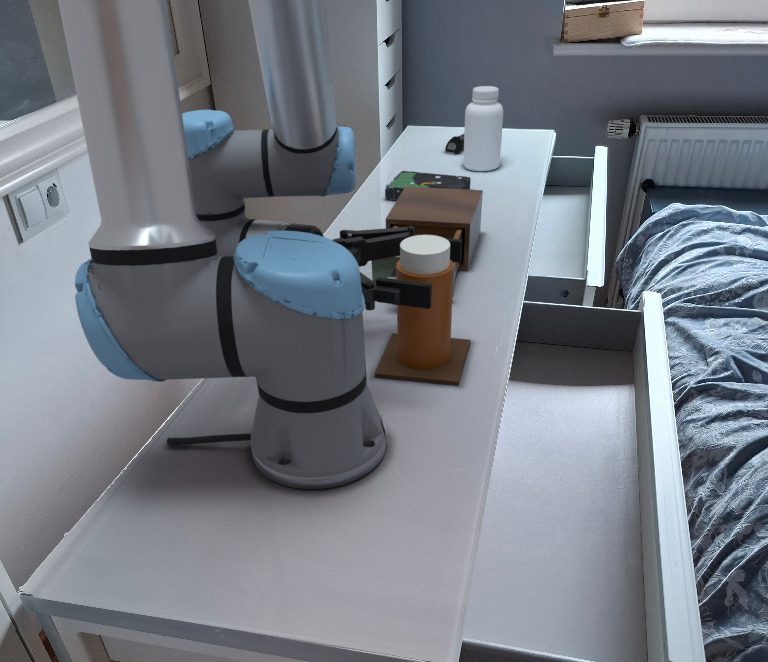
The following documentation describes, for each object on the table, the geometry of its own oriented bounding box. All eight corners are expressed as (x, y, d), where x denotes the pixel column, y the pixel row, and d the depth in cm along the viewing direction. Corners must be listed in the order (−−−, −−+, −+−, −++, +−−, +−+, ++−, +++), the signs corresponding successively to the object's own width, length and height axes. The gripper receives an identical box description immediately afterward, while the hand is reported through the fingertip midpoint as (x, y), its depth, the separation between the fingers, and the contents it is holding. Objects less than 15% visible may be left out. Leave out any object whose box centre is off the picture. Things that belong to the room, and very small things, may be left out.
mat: (458, 385, 91) (458, 381, 90) (374, 377, 93) (374, 373, 93) (470, 343, 99) (470, 339, 98) (392, 336, 101) (392, 332, 100)
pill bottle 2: (487, 158, 160) (492, 82, 150) (506, 168, 155) (512, 90, 145) (456, 164, 158) (459, 87, 148) (474, 174, 152) (478, 94, 142)
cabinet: (467, 270, 116) (470, 223, 111) (386, 265, 119) (385, 218, 114) (480, 234, 128) (482, 190, 123) (405, 230, 130) (405, 186, 125)
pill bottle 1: (407, 373, 92) (406, 259, 82) (391, 347, 97) (388, 237, 87) (457, 363, 94) (463, 251, 84) (439, 339, 99) (442, 229, 89)
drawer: (448, 311, 104) (449, 272, 100) (366, 304, 106) (364, 266, 103) (466, 259, 118) (468, 223, 114) (393, 254, 120) (392, 219, 116)
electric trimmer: (492, 139, 172) (493, 124, 170) (457, 154, 163) (458, 139, 161) (479, 137, 174) (480, 122, 172) (443, 152, 165) (444, 137, 163)
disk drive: (470, 191, 145) (401, 183, 149) (471, 176, 143) (401, 169, 147) (456, 208, 138) (384, 200, 142) (456, 193, 136) (384, 185, 140)
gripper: (327, 246, 103) (470, 262, 98) (247, 324, 86) (415, 349, 80) (323, 192, 98) (473, 206, 93) (237, 263, 81) (415, 285, 75)
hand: (447, 272), depth 87 cm, fingers open, 13 cm apart
